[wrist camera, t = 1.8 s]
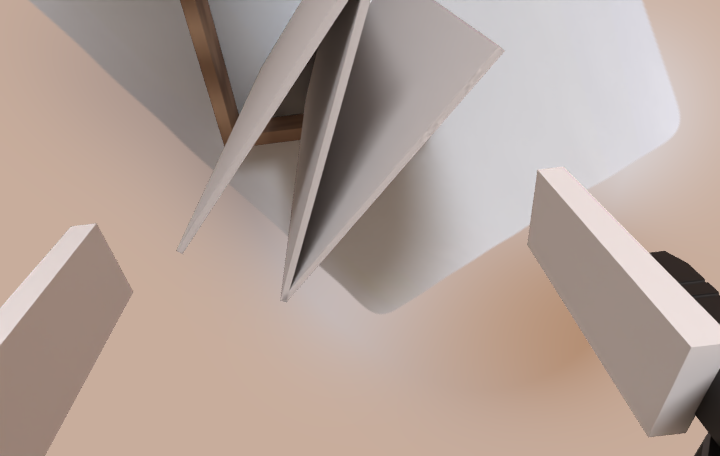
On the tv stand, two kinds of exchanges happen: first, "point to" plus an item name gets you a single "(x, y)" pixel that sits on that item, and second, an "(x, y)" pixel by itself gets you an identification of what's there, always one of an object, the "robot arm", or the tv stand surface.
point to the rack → (218, 80)
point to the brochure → (352, 110)
